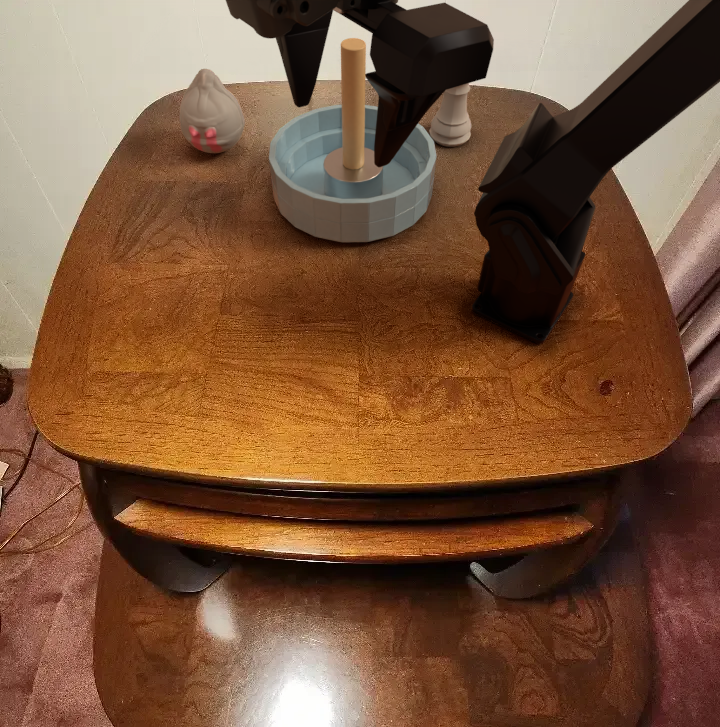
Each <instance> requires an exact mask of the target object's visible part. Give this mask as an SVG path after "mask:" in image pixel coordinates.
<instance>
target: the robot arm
mask: <svg viewBox="0 0 720 727" xmlns="http://www.w3.org/2000/svg"><path fill="white" fill-rule="evenodd" d="M225 3H226V6H227V8H228V11H229V15H230V16H232V18H234V19H235V20H240V21H242V22H244V23H245V24H246V25H248V26H249V27H250V28H252V29H253V30H254V32H255V33H256V34H257V35H258V36H260V37H262V38H264V39H275V41H276V44H277V47H278V50H279V54H280V57H281V61H282V64H283V69H284V71H285V72H284V73H285V75H286V79H287V83H288V86H289V90H290V93H291V97H292V101H293V104H294V106H296V107H297V108H303V107H308V106H309V105H310V103H311V99H312V97H313V93H314V91H315V87H316V84H317V80H318V75H319V72H320V68H321V63H322V60H323V54H324V50H325V46H326V42H327V38H328V33H329V29H330V26H331V22H332V18H333V13H334V12H335V13H337V14H339V15H341V16H343V17H344V18H345V19H347V20H349V21H350V22H353V23H354V24H356V25H357V26H359V27H361V28H362V29H364V30H366V31H367V32H369V33H371V42H370V49H369V57H370V59H371V62H372V65H373V68H374V71H370V72H366V73H365V80H367V81H368V83H369V84H370V85H371V87H372V88H373V90H374V91H375V92H376V93H377V96H378V99H377V107H378V110H377V120H376V131H375V142H374V164H375V165H376V166H377V167H382V166H385V165H388V164H389V163H390V162H391V160H392V159H393V158H394V156H395V155H396V153H397V152H398V151H399V149H400V148H401V146H402V145H403V144H404V142H405V141H406V140H407V138H408V137H409V135H410V134H411V133H412V131H413V130H414V128H415V127H416V126H417V124H420V122H421V120H422V119H423V117H425V115H426V113H427V112H428V111H429V110H430V109H431V107H432V106H433V105H434V104H435V103H436V102H437V101H438V99H439V98H440V97H441V96H443V93H444V92H445V90H447V89H450V88H454V87H457V86H461V85H464V84H467V83H469V84H471V83H474V82H478V81H481V80H485V79H486V78H487V74H488V71H489V68H490V64H491V59H492V56H493V53H494V41H495V39H494V37H493V35H492V32H491V30H490V28H489V25H488V24H487V23H485V22H483V21H481V20H479V19H477V18H476V17H474V16H471V15H470V14H467V13H466V12H463V11H462V10H460V9H458V8H456V7H454V6H453V5H450V4H449V3H447V2H440V3H435V4H431V5H426V6H419V7H414V8H410V9H406V8H405V7H402V6H401V5H399V4H398V3H399V0H225ZM718 84H720V0H687V2H685V4H683V5H682V6H681V7H680V8H679V9H678V10H677V11H676V12H675V13H673V15H672V16H671V17H669V18H668V19H667V20H666V22H664V23H663V24H662V25H661V26H660V27H659V28H658V29H657V30H656V31H655V32H654V33H652V35H650V36H649V38H647V39H646V41H644V42H643V43H642V44H641V45H640V46H639V47H638V48H637V49H636V50H635V51H634V52H633V53H632V54H631V55H630V56H629V57H628V58H627V59H626V60H625V61H623V62H622V64H620V65H619V66H618V67H617V68H616V69H615V70H614V71H613V72H612V73H611V74H610V75H609V76H608V77H607V78H605V79H604V80H603V82H602V83H600V84H599V85H598V86H597V87H596V88H595V89H594V90H593V91H592V92H591V93H590V94H589V95H588V96H587V97H586V98H585V99H584V100H583V101H582V102H580V103H579V104H578V105H576V106H574V107H573V108H571V109H569V110H567V111H564V112H561V113H559V114H557V115H554V116H553V115H552V114H551V112H550V111H549V110H548V109H547V107H546V106H545V104H544V103H542V102H538V104H537V105H536V107H534V109H533V110H532V112H531V113H530V115H529V116H528V118H527V119H526V121H525V122H524V123H523V125H522V126H520V127H519V128H518V129H517V130H515V131H514V132H512V133H510V134H507V135H504V136H503V139H502V141H501V143H500V144H499V146H498V148H497V150H496V152H495V154H494V156H493V159H492V160H491V162H490V164H489V166H488V168H487V170H486V172H485V174H484V176H483V178H482V180H481V182H480V183H479V186H478V188H477V190H478V192H480V193H482V194H481V196H480V198H479V200H478V202H477V204H476V205H475V209H474V212H473V216H474V217H475V218H474V219H475V225H476V227H477V229H478V231H479V233H480V235H481V236H482V237H483V238H484V239H485V240H486V241H487V245H488V250H487V251H486V252H485V254H484V256H483V260H482V265H481V269H480V270H481V271H480V274H479V278H478V282H477V287H476V289H477V292H478V293H480V294H479V296H478V297H477V298H476V299H475V301H474V302H473V303H472V305H471V312H472V313H473V314H474V315H476V316H479V317H481V318H483V319H485V320H487V321H489V322H491V323H493V324H495V325H497V326H500V327H502V328H503V329H506V330H507V331H510V332H512V333H514V334H516V335H519V336H520V337H522V338H524V339H526V340H529V341H531V342H533V343H535V344H537V345H542V344H544V343H545V342H546V340H547V339H548V337H549V336H550V334H551V332H552V331H553V329H554V328H555V326H556V325H557V323H558V322H559V320H560V318H562V316H563V314H564V312H565V311H566V310H567V308H568V306H569V305H570V303H571V302H572V300H573V297H574V293H573V291H572V290H573V287H574V285H575V282H576V280H577V277H578V275H579V272H580V270H581V267H582V265H583V262H584V260H585V257H586V252H584V251H583V249H584V246H585V243H586V239H587V236H588V234H589V230H590V227H591V223H592V220H593V218H594V214H595V211H596V204H595V203H594V201H593V200H592V198H591V196H592V195H593V193H594V192H595V191H596V189H597V188H598V186H599V184H600V183H601V182H602V180H603V179H604V178H605V177H606V175H607V174H608V173H609V172H610V171H611V169H613V168H614V167H615V166H616V165H618V164H619V163H620V162H621V161H623V160H624V159H625V158H627V157H628V156H629V155H630V154H631V153H633V152H634V151H635V150H637V149H638V148H639V147H640V146H642V145H643V144H644V143H645V142H646V141H648V140H649V139H651V137H653V136H654V135H655V134H656V133H658V132H659V131H660V130H661V129H663V128H664V127H665V126H667V125H669V123H671V122H672V121H673V120H674V119H676V118H677V117H678V116H679V115H680V114H682V113H683V112H684V111H685V110H686V109H688V108H689V107H690V106H691V105H693V104H694V103H695V102H696V101H698V100H699V99H701V98H702V97H703V96H704V95H706V94H707V93H709V91H710V90H712V89H713V88H714V87H715V86H717V85H718Z"/></svg>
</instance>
